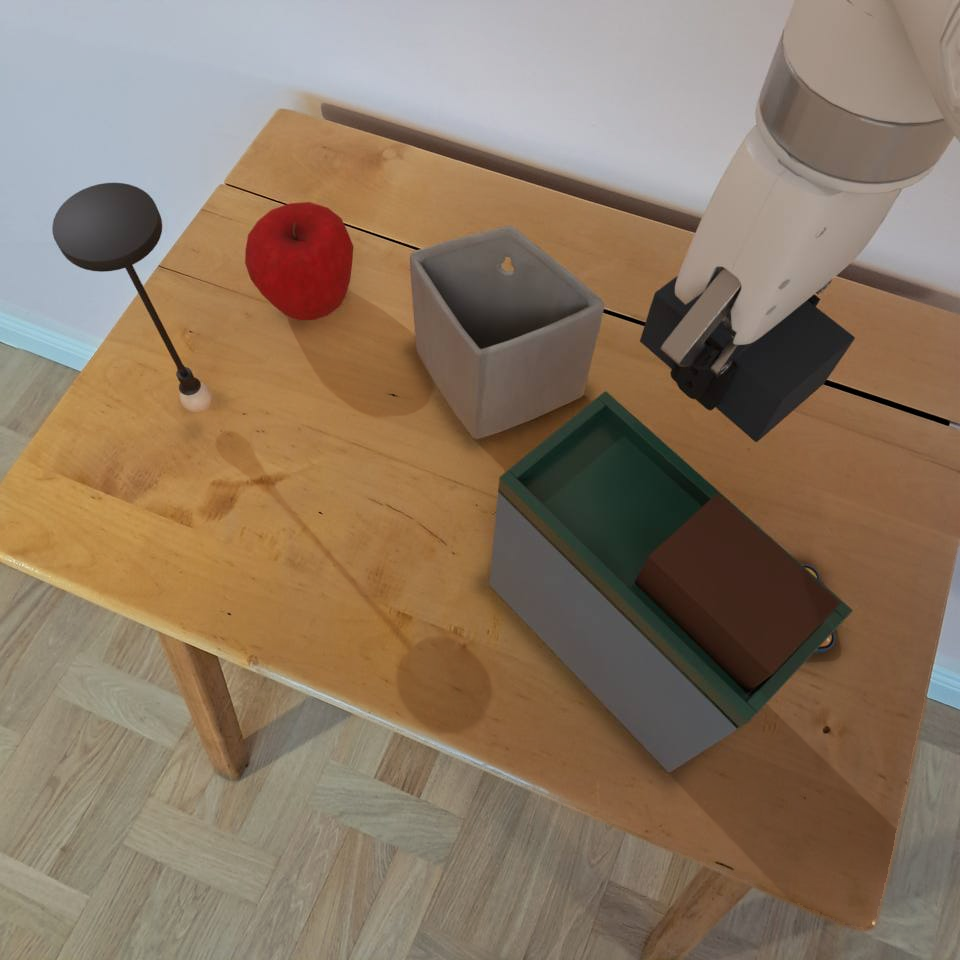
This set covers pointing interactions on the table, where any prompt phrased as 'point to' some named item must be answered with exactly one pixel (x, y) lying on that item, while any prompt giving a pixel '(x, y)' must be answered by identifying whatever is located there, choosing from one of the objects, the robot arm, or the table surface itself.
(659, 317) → the dark grey rectangular block
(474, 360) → the planter
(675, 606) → the brown block
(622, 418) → the box
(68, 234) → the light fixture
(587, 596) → the stand
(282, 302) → the apple
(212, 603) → the table surface
